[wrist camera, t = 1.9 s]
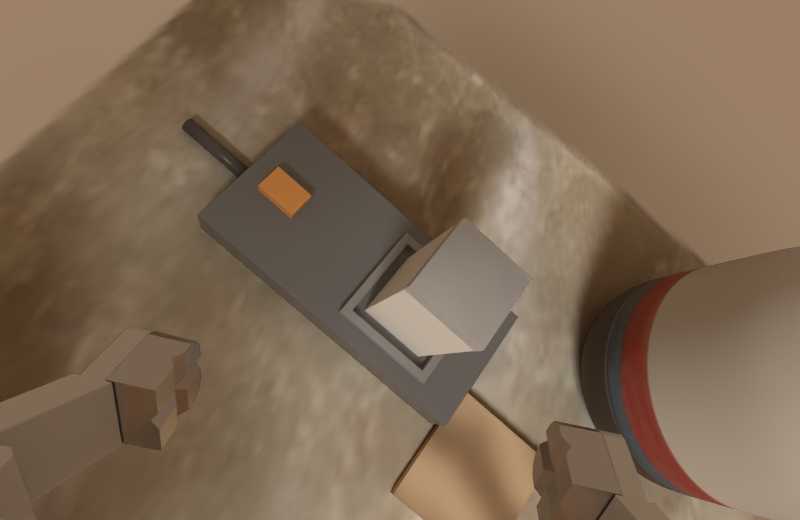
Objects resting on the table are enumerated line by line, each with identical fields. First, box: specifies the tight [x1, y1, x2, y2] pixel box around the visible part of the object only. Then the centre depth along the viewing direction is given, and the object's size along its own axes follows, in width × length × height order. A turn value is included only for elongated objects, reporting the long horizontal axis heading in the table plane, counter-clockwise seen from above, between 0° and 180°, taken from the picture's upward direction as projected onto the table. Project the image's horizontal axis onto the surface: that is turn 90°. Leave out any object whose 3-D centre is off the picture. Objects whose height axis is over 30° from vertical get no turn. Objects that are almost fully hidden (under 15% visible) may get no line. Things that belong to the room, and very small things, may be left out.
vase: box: [581, 246, 800, 520], centre depth 31 cm, size 17×17×24 cm
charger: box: [365, 217, 532, 357], centre depth 30 cm, size 5×5×10 cm
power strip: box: [182, 119, 518, 427], centre depth 35 cm, size 10×28×4 cm, turn 51°
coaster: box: [391, 393, 536, 520], centre depth 36 cm, size 9×9×1 cm
